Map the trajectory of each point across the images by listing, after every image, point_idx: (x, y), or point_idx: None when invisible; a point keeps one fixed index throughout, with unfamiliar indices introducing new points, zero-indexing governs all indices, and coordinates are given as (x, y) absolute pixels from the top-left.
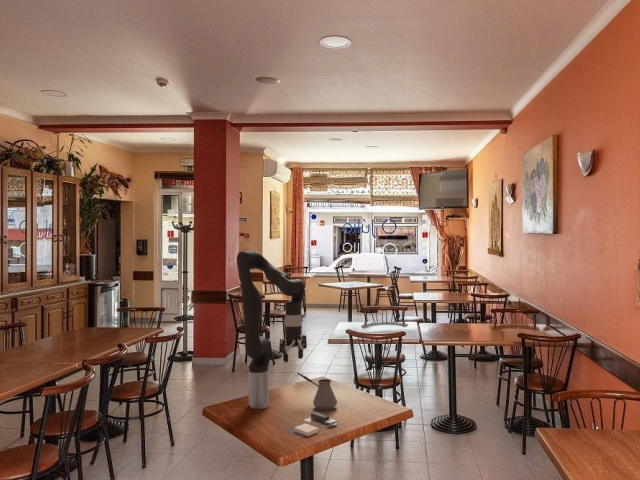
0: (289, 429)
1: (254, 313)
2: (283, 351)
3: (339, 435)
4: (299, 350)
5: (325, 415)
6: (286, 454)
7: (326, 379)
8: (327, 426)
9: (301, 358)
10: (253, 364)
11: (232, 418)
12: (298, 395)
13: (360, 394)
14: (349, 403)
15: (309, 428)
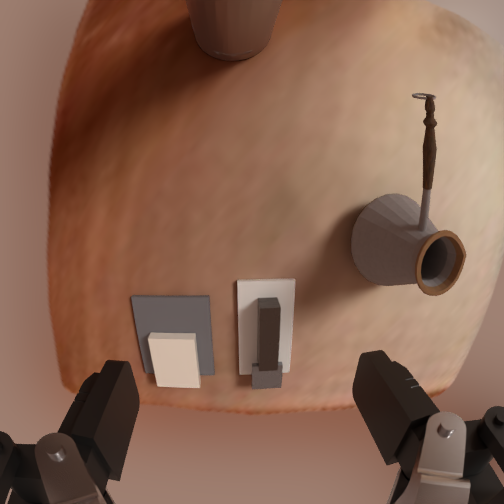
0: (148, 309)
1: None
2: (30, 497)
3: (235, 412)
4: (399, 442)
5: (275, 358)
6: None
7: (461, 250)
8: (251, 370)
9: (356, 394)
10: None
11: (88, 74)
12: (406, 68)
13: (500, 233)
14: None
15: (178, 374)
